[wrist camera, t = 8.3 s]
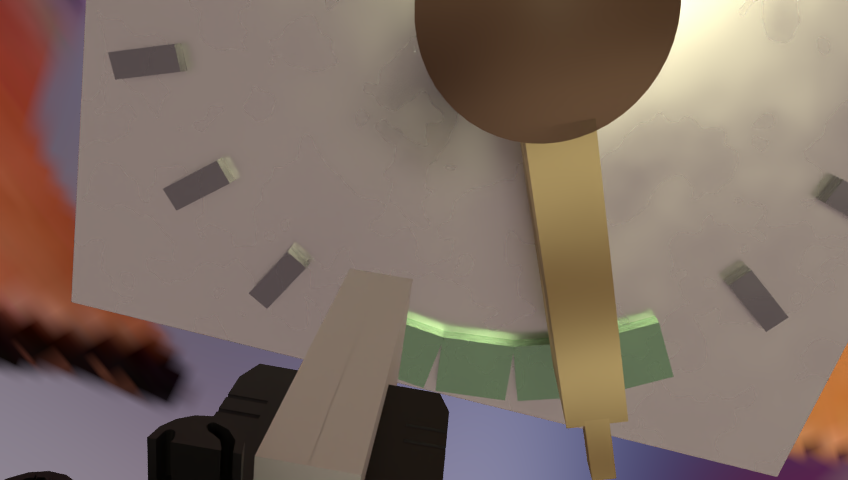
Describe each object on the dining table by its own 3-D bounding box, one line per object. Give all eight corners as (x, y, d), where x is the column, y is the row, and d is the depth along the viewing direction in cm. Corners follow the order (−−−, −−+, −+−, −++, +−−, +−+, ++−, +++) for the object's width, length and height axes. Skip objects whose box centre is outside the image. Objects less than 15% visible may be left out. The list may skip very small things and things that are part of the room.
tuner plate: (143, -693, 18) (83, -821, 16) (1214, -421, 19) (1347, -500, 16) (87, 291, 29) (45, 320, 26) (765, 459, 29) (796, 506, 27)
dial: (406, -79, 20) (390, -102, 16) (633, -131, 19) (671, -167, 15) (497, 421, 26) (501, 489, 22) (676, 400, 25) (711, 468, 21)
